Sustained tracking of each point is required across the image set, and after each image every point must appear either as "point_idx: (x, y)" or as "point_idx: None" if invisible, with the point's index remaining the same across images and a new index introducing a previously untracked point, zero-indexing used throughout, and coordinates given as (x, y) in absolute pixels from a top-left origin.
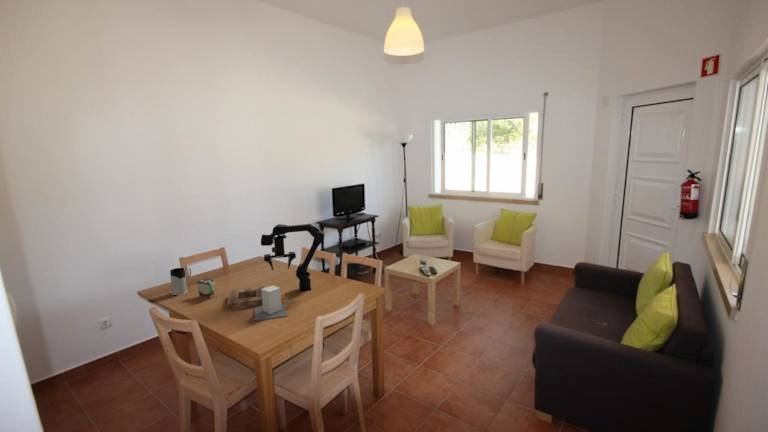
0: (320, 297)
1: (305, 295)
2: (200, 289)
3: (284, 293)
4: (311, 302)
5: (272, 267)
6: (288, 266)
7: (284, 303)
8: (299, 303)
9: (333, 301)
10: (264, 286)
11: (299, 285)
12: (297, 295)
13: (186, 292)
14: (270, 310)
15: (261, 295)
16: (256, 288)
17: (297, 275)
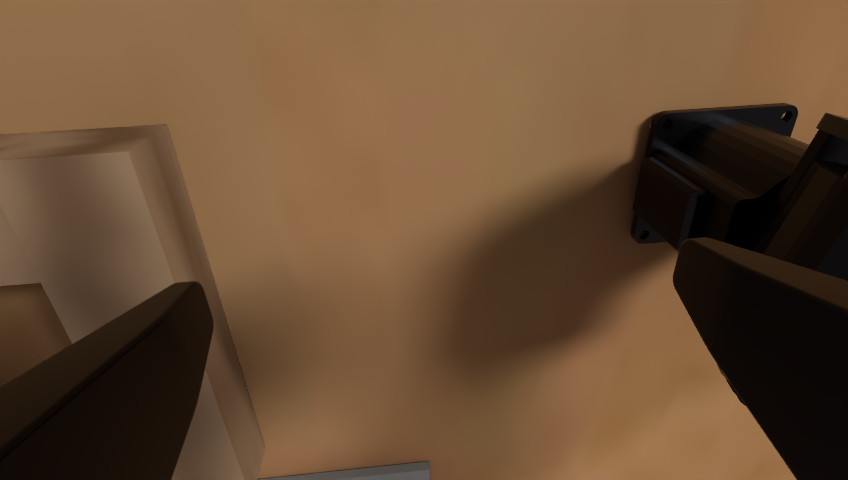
0: (739, 405)
1: (638, 345)
2: None
3: (436, 250)
4: (637, 466)
5: (157, 473)
6: (735, 374)
7: (428, 474)
8: (546, 466)
9: (787, 475)
10: (124, 161)
11: (658, 232)
12: (565, 330)
13: None
14: None
15: None
16: (8, 215)
17: (733, 391)
